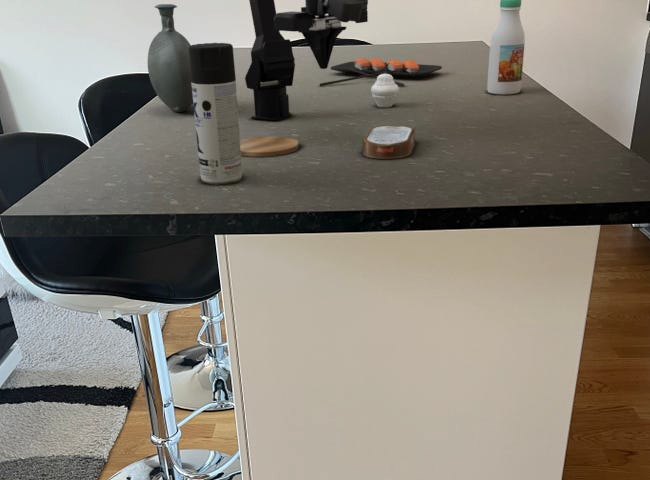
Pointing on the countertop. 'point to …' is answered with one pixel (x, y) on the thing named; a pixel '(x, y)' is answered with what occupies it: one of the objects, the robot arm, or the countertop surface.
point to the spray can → (216, 112)
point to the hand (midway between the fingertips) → (323, 68)
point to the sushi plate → (383, 69)
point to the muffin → (384, 90)
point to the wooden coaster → (267, 146)
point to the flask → (170, 63)
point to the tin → (389, 142)
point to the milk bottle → (506, 51)
